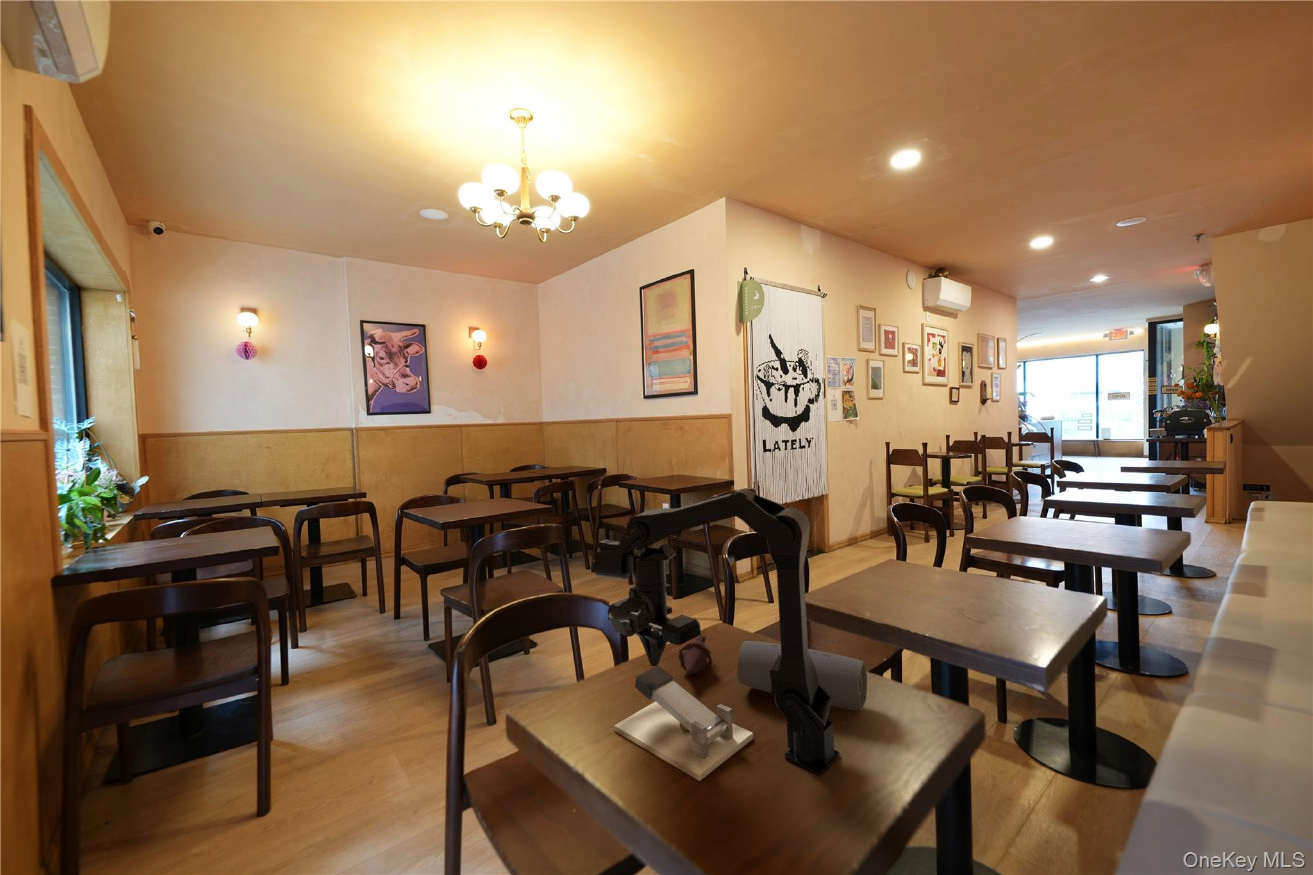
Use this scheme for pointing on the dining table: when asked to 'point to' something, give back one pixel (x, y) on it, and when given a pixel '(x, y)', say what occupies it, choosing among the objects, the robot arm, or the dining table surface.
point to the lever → (678, 701)
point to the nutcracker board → (683, 739)
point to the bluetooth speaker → (832, 670)
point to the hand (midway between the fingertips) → (654, 665)
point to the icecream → (695, 657)
